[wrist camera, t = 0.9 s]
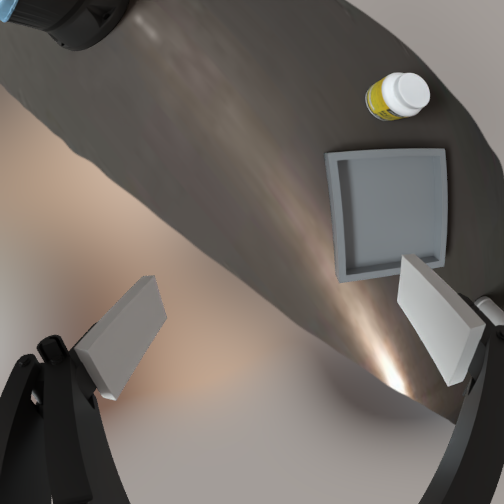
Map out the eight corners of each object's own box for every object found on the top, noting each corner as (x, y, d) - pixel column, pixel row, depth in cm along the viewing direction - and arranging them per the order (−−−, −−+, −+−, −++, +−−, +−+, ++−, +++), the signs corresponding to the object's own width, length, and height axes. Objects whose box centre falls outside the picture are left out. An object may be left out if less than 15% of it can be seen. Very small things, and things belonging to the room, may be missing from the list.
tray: (323, 153, 33) (327, 153, 30) (434, 148, 30) (444, 148, 27) (335, 273, 38) (339, 283, 36) (435, 258, 36) (444, 266, 33)
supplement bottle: (367, 121, 31) (396, 112, 21) (361, 83, 29) (387, 63, 20) (402, 122, 30) (438, 116, 21) (397, 85, 28) (430, 69, 19)
